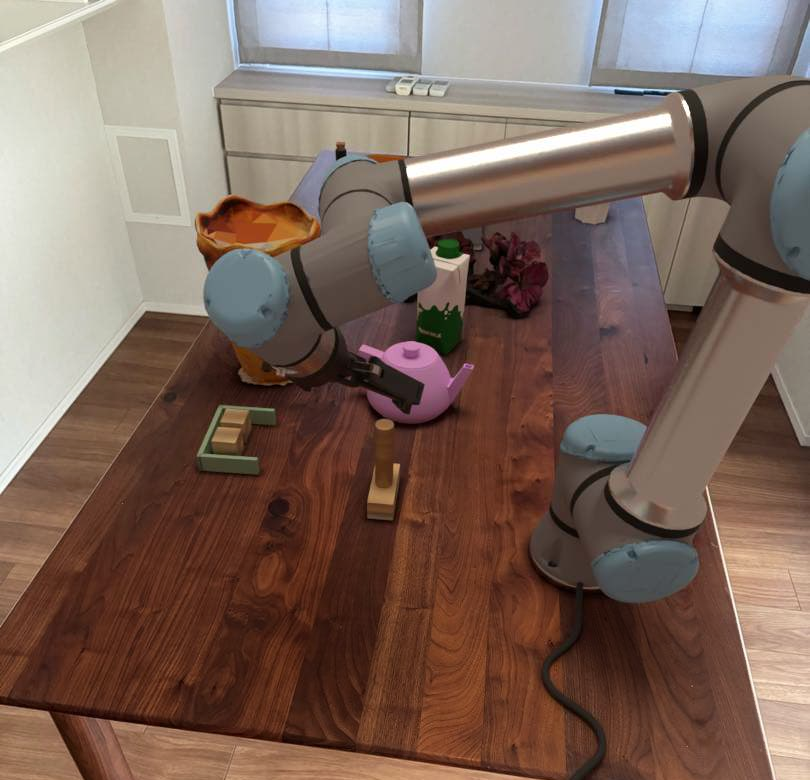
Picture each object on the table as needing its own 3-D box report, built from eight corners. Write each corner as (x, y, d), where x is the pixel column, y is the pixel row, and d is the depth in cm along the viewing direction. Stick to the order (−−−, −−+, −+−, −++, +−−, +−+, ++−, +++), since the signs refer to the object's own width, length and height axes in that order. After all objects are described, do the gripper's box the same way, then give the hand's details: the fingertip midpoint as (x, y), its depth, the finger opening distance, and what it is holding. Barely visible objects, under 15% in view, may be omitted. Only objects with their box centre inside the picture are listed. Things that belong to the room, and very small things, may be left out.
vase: (201, 397, 145) (171, 235, 124) (233, 341, 159) (211, 188, 138) (314, 408, 143) (303, 246, 122) (336, 351, 158) (330, 197, 137)
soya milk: (466, 339, 162) (475, 243, 148) (447, 359, 156) (454, 262, 143) (428, 328, 165) (433, 233, 151) (408, 348, 159) (411, 251, 145)
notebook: (433, 214, 209) (429, 248, 194) (433, 208, 208) (430, 242, 192) (481, 216, 208) (481, 251, 193) (482, 210, 207) (482, 244, 192)
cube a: (238, 462, 131) (235, 442, 129) (214, 460, 132) (211, 440, 129) (244, 447, 134) (241, 428, 131) (221, 445, 134) (217, 426, 132)
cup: (569, 222, 207) (575, 183, 200) (574, 208, 214) (580, 170, 207) (607, 228, 205) (615, 188, 198) (611, 213, 212) (619, 175, 205)
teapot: (339, 417, 141) (337, 358, 133) (364, 372, 152) (363, 314, 144) (460, 437, 138) (466, 377, 129) (476, 390, 149) (482, 332, 140)
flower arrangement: (398, 310, 170) (400, 241, 160) (410, 270, 185) (412, 205, 174) (544, 323, 168) (555, 254, 158) (544, 281, 182) (554, 215, 172)
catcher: (258, 474, 129) (256, 460, 127) (199, 470, 130) (196, 456, 127) (276, 422, 140) (274, 408, 138) (221, 419, 140) (219, 404, 138)
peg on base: (392, 520, 122) (394, 445, 112) (367, 518, 122) (366, 443, 112) (399, 479, 129) (401, 406, 119) (375, 477, 129) (375, 404, 119)
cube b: (246, 443, 135) (243, 423, 132) (223, 441, 135) (219, 421, 133) (251, 429, 138) (249, 410, 135) (229, 427, 138) (226, 408, 136)
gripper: (184, 354, 83) (263, 400, 104) (407, 404, 78) (444, 442, 98) (202, 285, 83) (278, 345, 104) (427, 330, 78) (460, 384, 98)
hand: (359, 392), depth 101 cm, fingers open, 13 cm apart
